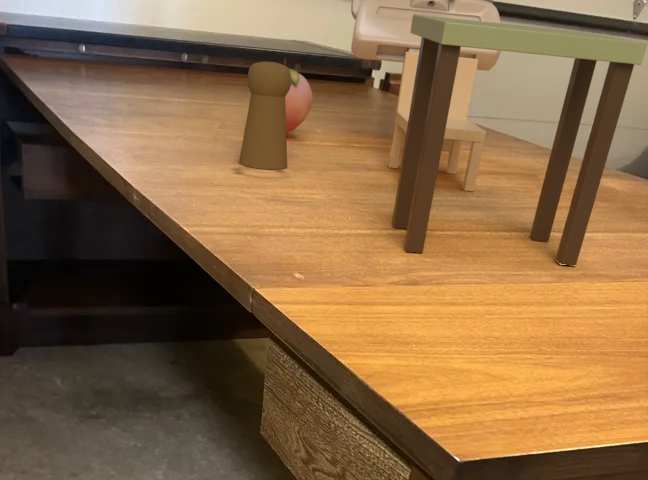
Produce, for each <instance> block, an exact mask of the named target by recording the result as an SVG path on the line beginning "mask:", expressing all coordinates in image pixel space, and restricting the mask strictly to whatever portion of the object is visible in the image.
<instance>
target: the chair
mask: <svg viewBox="0 0 648 480" xmlns="http://www.w3.org/2000/svg"><path fill="white" fill-rule="evenodd" d="M418 57H419V53H413V52H405V56H404V62H402V63H403V64H402V69H401V70H402V71H401V77H400V84H399V90H398V95H397V96H398V97H397V102H396V110H395V115H394V123H393V129H392V136H391V142H390V148H389V154H388V155H389V156H388V162H387V167H388V168H390V169H391V168H392V169H398V168H399V164H400V157H401V151H402V148H403V149H404V144H405V138H406V132H407V125H408V119H409V113H410V107H411V101H412V95H413V88H414V82H415V76H416V70H417V64H418ZM477 64H478V59H472V58H462V57H459V59H458V65H457V70H456V75H455V81H454V86H453V92H452V97H451V102H450V108H449V113H448V119H447V124H446V129H445V135H444V140H443V146H442V151H441V152H444V153H445V152H446V153H448V158H447V164H446V167H445V169H446V170H445V173H447V174H453V175H456V174H457V172H458V167H459V162H460V157H461V153H462V147H463V142H471V145H470V149H469V154H468V159H467V163H466V164H467V165H466V167H465V174H464V179H463V184H462V190H463V191H464V192H474V191H475V187H476V183H477V179H478V175H479V169H480V164H481V159H482V154H483V150H484V145H485V141H486V135H487V131H486V130H485V129H483V128H482V127H480V126H478V124H476V123H474V122H473V121H472V120H470V119H468V115H469V110H470V104H471V100H472V94H473V89H474V86H475V85H474V84H475V79H476V75H477V74H476V73H477V71H478V70H477Z"/></svg>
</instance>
